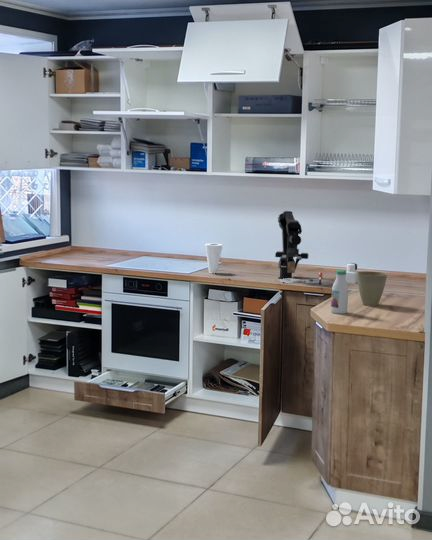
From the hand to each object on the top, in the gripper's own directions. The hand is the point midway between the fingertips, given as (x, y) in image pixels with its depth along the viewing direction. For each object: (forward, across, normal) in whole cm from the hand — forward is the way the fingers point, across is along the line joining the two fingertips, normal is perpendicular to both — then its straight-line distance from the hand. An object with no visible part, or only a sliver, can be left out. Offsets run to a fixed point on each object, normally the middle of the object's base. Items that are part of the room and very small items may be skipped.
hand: (291, 269), depth 451 cm
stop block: (+2, 0, 0) cm, 2 cm away
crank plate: (+8, +14, -2) cm, 16 cm away
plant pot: (+8, +46, -54) cm, 72 cm away
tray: (+8, 0, 0) cm, 8 cm away
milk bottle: (+8, +32, -81) cm, 87 cm away
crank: (+7, +13, 0) cm, 15 cm away
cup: (+8, -50, +17) cm, 53 cm away
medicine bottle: (+8, +34, +11) cm, 37 cm away
